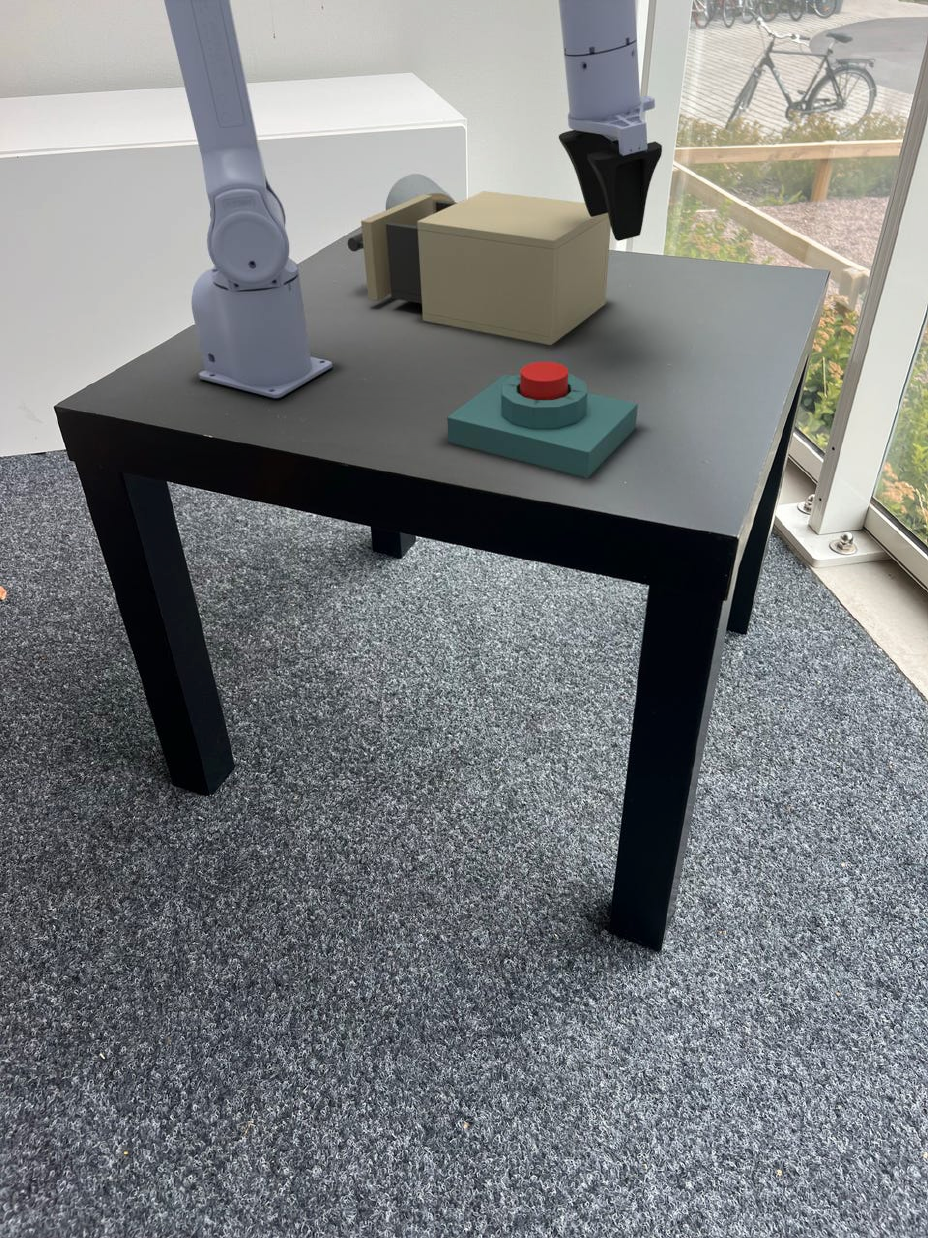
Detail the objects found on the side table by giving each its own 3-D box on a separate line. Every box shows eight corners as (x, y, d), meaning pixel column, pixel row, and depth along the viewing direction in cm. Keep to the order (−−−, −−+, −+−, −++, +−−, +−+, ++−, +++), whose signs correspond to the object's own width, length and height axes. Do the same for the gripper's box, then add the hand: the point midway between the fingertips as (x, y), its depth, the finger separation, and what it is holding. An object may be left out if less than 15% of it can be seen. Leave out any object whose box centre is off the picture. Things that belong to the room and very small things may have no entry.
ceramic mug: (410, 261, 105) (406, 191, 101) (386, 243, 111) (382, 176, 107) (490, 249, 109) (490, 181, 104) (463, 232, 115) (462, 167, 110)
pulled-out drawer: (336, 293, 95) (327, 215, 90) (396, 263, 102) (391, 190, 97) (478, 320, 87) (477, 237, 82) (532, 285, 95) (534, 207, 90)
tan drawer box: (422, 320, 90) (416, 220, 84) (484, 283, 98) (483, 190, 92) (550, 345, 84) (554, 240, 78) (605, 304, 92) (612, 205, 86)
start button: (511, 396, 67) (511, 375, 66) (533, 379, 70) (534, 358, 68) (554, 406, 66) (555, 384, 65) (575, 388, 68) (576, 366, 67)
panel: (448, 442, 69) (445, 394, 67) (503, 398, 75) (503, 353, 73) (587, 479, 64) (590, 428, 62) (635, 428, 70) (640, 381, 68)
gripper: (683, 44, 64) (687, 236, 73) (620, 24, 75) (630, 193, 84) (589, 68, 64) (605, 257, 72) (540, 45, 75) (559, 211, 84)
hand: (613, 224), depth 78 cm, fingers open, 7 cm apart
